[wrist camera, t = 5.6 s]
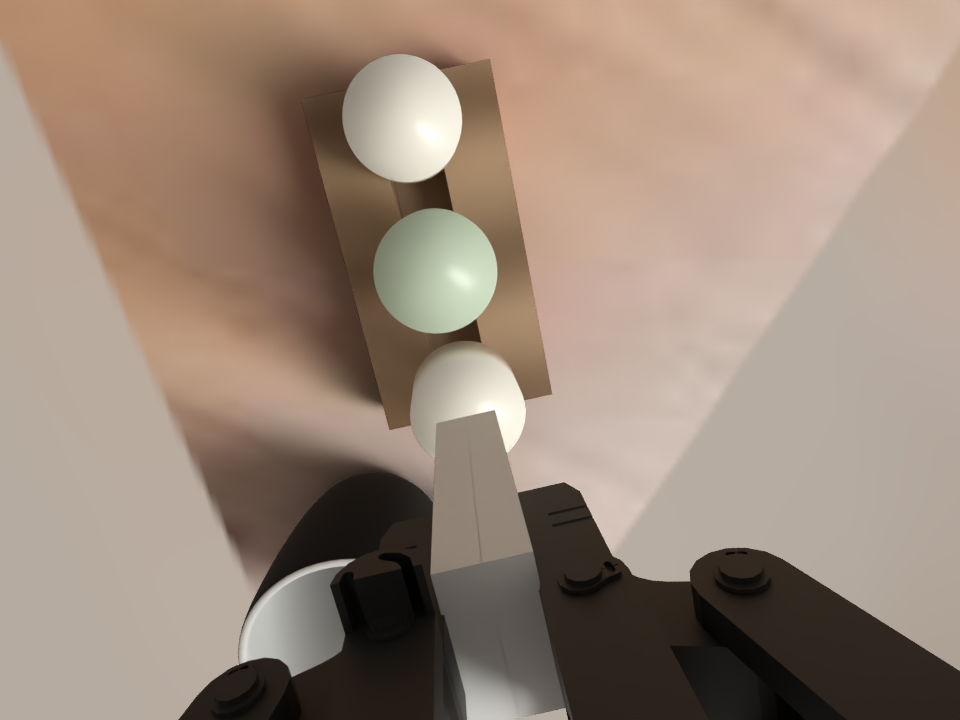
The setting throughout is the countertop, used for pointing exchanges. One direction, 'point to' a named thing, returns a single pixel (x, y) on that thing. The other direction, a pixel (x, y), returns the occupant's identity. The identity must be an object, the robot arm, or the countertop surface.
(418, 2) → the countertop surface
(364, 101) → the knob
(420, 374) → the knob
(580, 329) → the countertop surface
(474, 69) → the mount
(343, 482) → the mug
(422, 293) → the knob mid
